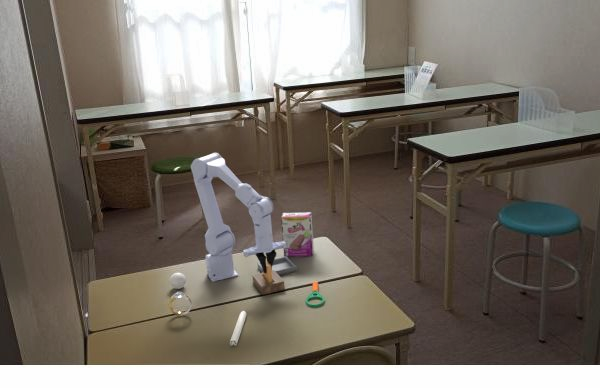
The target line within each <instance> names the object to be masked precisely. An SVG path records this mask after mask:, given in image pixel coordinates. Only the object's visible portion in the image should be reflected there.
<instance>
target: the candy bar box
mask: <svg viewBox="0 0 600 388" xmlns="http://www.w3.org/2000/svg"><path fill="white" fill-rule="evenodd" d="M281 214H282V215H281V217H280V219H281V220H280V221H281V231H282V232H281V233H282V241H284V242H285V243H286V248H285V249H283V257H284V256H286V257H287V258H295V257H298V258H301V257H302V258H303V257H313V256H314V252H315V248H314V234H313V233H314V232H313V230H314V229H313V217H312V212H311V211H310V212H308V211H307V212H282V213H281Z"/></svg>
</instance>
